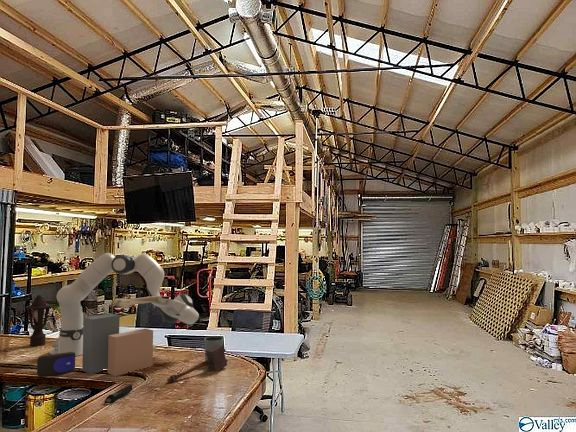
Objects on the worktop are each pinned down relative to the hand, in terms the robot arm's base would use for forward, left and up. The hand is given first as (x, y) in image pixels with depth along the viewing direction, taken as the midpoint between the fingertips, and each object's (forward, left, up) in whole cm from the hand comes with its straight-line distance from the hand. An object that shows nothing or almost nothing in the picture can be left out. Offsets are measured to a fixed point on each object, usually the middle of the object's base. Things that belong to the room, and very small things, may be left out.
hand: (155, 297), depth 225 cm
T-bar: (0, -8, -2) cm, 8 cm away
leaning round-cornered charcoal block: (-22, -39, -34) cm, 57 cm away
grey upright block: (-12, -22, -34) cm, 42 cm away
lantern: (-89, -23, -34) cm, 98 cm away
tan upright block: (0, -13, -34) cm, 36 cm away
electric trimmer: (+30, -36, -34) cm, 58 cm away
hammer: (+31, +3, -34) cm, 46 cm away
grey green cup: (+20, +23, -34) cm, 46 cm away
